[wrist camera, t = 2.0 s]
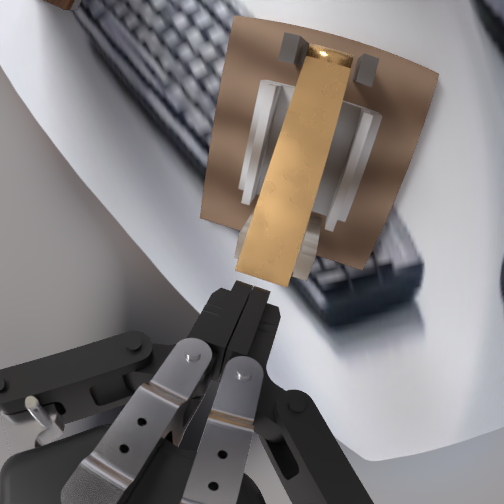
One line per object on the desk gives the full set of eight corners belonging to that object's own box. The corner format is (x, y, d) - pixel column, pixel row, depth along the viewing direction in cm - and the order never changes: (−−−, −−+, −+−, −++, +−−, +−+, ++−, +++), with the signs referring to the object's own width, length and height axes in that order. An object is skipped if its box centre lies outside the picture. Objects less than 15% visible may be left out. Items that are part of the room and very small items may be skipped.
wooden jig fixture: (239, 18, 23) (200, 1, 16) (434, 73, 21) (470, 76, 14) (205, 211, 35) (168, 253, 28) (362, 262, 33) (363, 318, 26)
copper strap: (310, 52, 19) (311, 38, 17) (351, 63, 18) (355, 51, 17) (238, 269, 19) (234, 270, 17) (287, 285, 19) (287, 287, 17)
